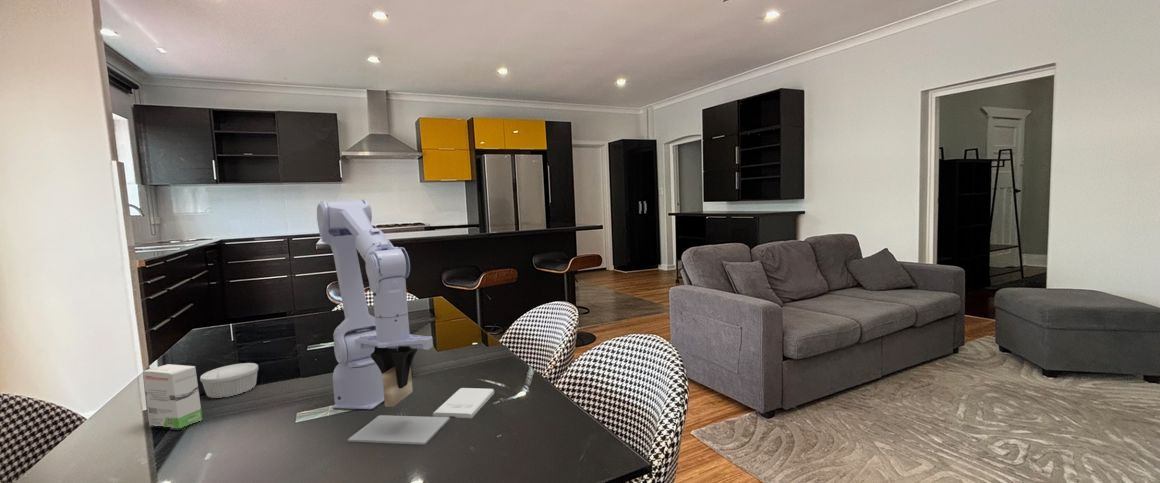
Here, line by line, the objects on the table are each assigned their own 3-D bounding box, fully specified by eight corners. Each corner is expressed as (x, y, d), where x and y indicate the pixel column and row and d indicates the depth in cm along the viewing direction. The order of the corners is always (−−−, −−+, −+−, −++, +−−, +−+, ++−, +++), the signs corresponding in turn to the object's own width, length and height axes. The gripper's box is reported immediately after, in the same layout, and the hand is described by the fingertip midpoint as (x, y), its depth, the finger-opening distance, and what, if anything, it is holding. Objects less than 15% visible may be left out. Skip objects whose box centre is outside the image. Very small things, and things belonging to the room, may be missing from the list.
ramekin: (191, 398, 113) (188, 376, 113) (240, 381, 124) (238, 361, 123) (222, 403, 109) (220, 380, 109) (270, 385, 119) (268, 364, 119)
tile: (384, 406, 88) (381, 374, 87) (404, 391, 95) (402, 361, 94) (393, 406, 88) (390, 374, 87) (412, 391, 95) (410, 361, 94)
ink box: (203, 421, 100) (197, 365, 99) (177, 432, 95) (170, 373, 94) (174, 417, 103) (168, 362, 102) (147, 428, 98) (140, 370, 97)
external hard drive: (494, 395, 107) (471, 421, 95) (460, 394, 109) (433, 419, 97) (494, 388, 107) (471, 413, 95) (459, 387, 109) (432, 411, 97)
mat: (347, 441, 88) (347, 439, 88) (379, 417, 98) (379, 415, 98) (425, 444, 85) (424, 442, 85) (449, 419, 95) (449, 417, 95)
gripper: (342, 320, 87) (348, 393, 88) (417, 319, 85) (423, 395, 86) (365, 311, 94) (371, 379, 95) (435, 310, 91) (441, 380, 93)
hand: (397, 386), depth 91 cm, fingers closed on tile, 2 cm apart
